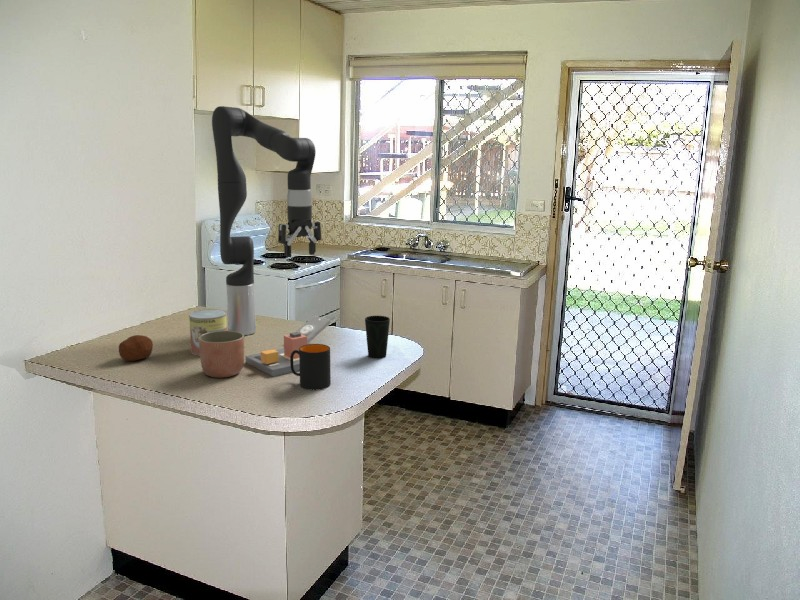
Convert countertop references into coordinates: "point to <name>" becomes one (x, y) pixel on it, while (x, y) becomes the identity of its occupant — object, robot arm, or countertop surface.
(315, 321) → the light switch
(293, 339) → the pink square block
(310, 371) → the mug
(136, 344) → the potato
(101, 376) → the countertop surface
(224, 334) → the pink terracotta mug
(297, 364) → the panel
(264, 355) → the orange rectangular prism
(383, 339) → the cup
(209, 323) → the canned food
